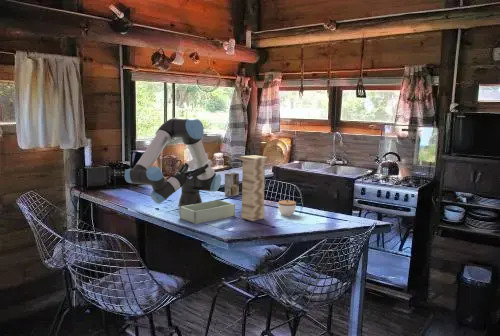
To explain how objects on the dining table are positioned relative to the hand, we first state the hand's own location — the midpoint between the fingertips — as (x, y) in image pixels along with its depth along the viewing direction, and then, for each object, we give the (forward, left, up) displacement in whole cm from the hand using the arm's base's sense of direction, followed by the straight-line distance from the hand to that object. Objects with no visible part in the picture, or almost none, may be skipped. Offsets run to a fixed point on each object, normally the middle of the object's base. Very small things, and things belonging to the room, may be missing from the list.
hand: (203, 160), depth 234 cm
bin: (-2, +3, -34) cm, 34 cm away
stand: (+2, +28, -34) cm, 44 cm away
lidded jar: (-5, +50, -34) cm, 61 cm away
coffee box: (-64, +22, -34) cm, 76 cm away
